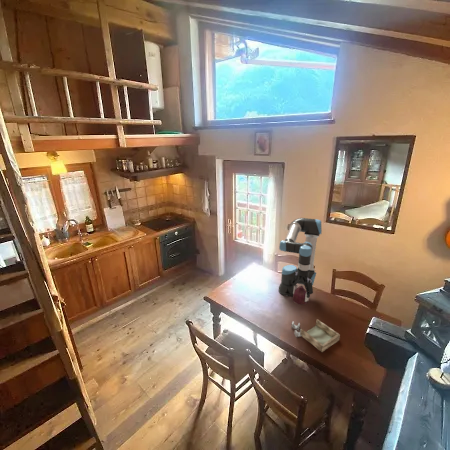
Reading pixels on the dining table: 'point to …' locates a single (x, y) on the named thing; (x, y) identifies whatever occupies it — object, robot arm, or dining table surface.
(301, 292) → the vegetable
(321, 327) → the tray
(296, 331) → the clip
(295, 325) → the clip
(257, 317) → the dining table surface
